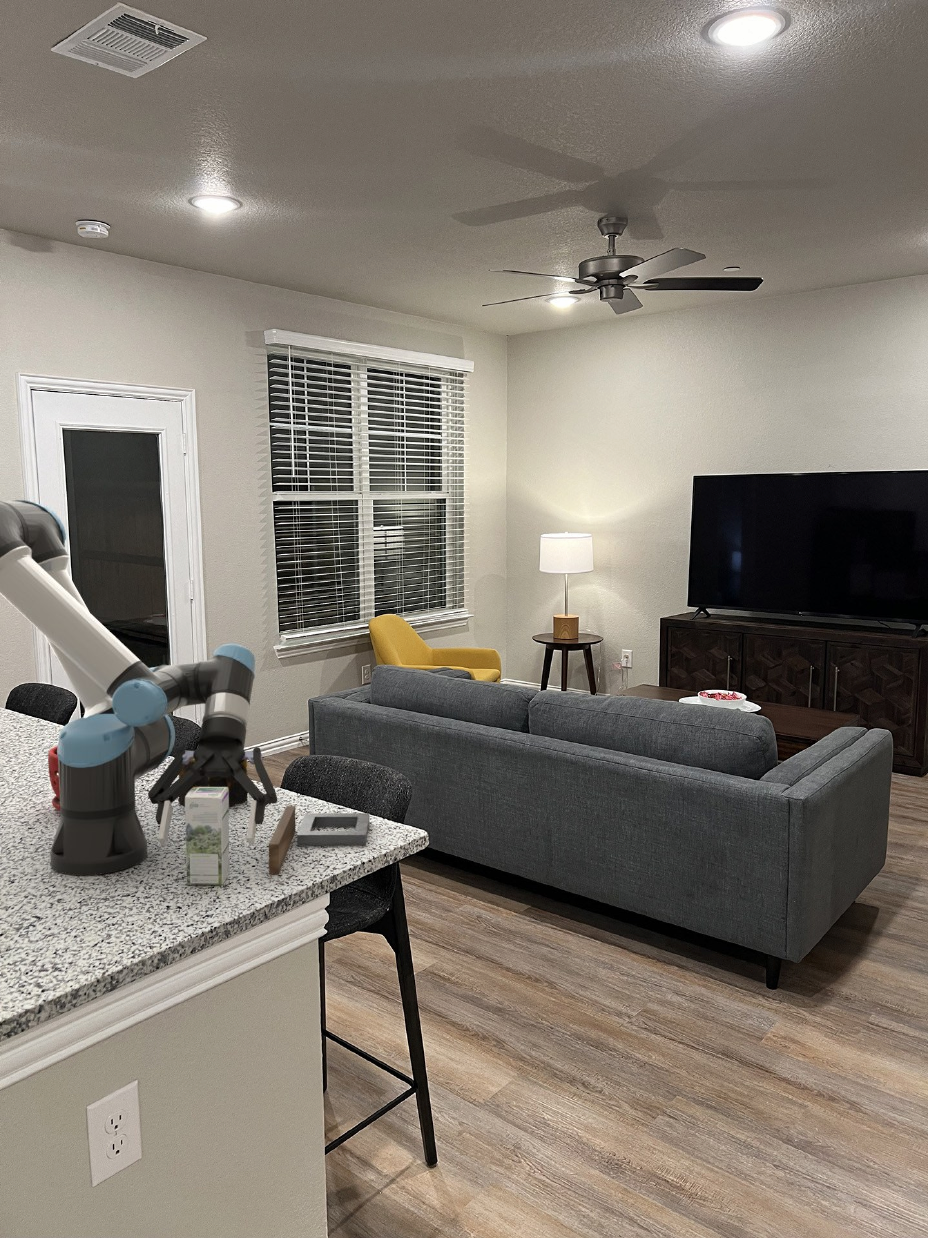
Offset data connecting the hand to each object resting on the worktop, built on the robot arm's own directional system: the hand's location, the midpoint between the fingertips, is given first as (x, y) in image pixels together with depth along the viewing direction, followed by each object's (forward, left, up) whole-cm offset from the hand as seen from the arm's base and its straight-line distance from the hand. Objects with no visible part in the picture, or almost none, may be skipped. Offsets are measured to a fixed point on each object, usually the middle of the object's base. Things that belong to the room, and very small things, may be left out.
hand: (206, 842), depth 146 cm
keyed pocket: (+18, +23, -7) cm, 30 cm away
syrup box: (0, +2, -7) cm, 7 cm away
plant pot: (-32, +39, -7) cm, 51 cm away
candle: (-8, +42, -7) cm, 43 cm away
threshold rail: (+10, +14, -7) cm, 18 cm away
